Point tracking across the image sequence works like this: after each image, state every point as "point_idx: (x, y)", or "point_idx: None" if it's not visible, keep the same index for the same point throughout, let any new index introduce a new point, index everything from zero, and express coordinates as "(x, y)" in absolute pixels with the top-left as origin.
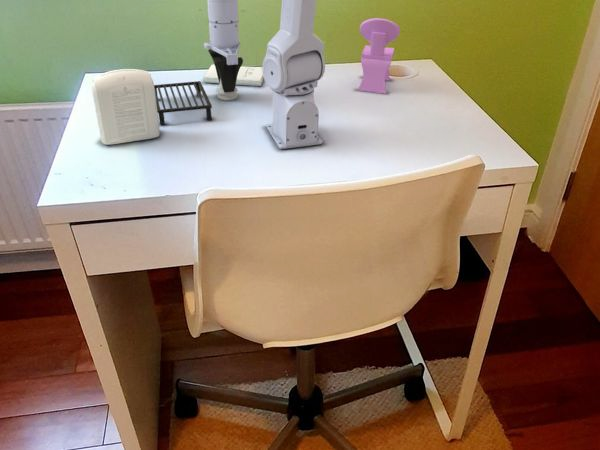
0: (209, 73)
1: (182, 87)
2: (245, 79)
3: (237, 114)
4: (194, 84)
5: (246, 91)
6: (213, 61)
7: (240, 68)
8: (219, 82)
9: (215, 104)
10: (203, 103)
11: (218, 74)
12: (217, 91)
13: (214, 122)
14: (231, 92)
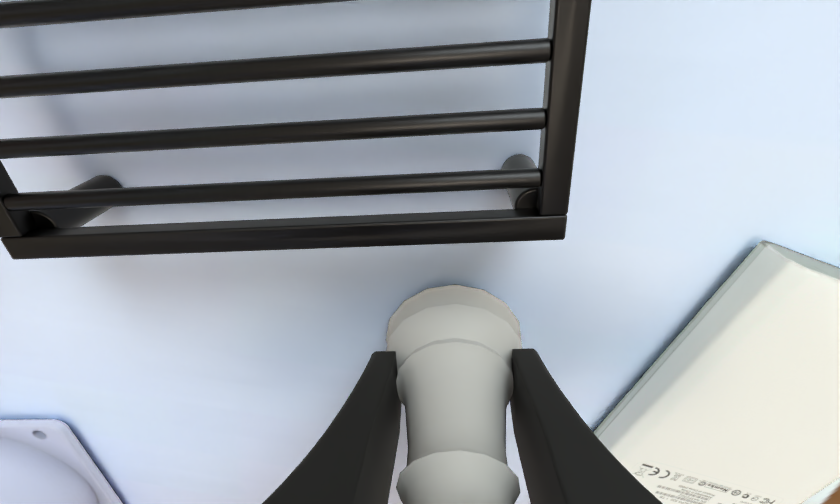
0: (830, 309)
1: (454, 45)
2: None
3: (204, 338)
4: (490, 180)
5: None
6: (636, 485)
7: (794, 474)
8: (522, 358)
9: (352, 254)
10: (41, 206)
11: (531, 407)
12: (441, 310)
13: None
14: None
